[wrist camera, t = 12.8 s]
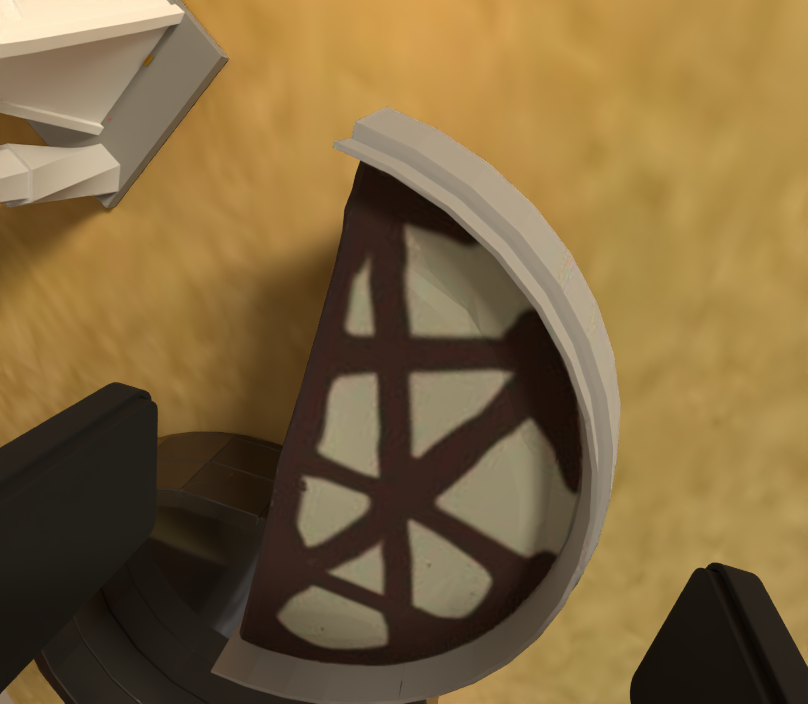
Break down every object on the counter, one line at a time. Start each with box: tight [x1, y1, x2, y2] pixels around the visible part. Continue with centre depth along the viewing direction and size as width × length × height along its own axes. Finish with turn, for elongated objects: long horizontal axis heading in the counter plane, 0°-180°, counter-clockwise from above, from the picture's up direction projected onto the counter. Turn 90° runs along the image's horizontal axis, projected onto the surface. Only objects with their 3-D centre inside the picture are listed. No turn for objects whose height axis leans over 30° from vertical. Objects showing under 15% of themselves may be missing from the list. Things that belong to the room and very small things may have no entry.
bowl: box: [34, 432, 439, 704], centre depth 23 cm, size 19×19×4 cm
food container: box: [211, 107, 621, 704], centre depth 13 cm, size 12×6×10 cm, turn 163°
